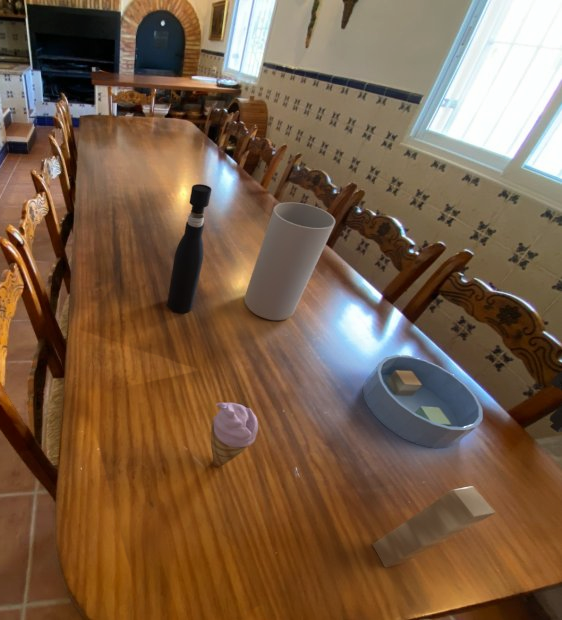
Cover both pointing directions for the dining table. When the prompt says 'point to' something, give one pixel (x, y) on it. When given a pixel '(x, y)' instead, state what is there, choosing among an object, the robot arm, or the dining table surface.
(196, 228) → the black bottle
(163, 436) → the dining table surface
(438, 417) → the sage block
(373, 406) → the bowl
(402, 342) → the dining table surface
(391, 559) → the brown wooden bar
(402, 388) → the maple block
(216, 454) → the ice cream cone
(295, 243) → the cylinder vase
